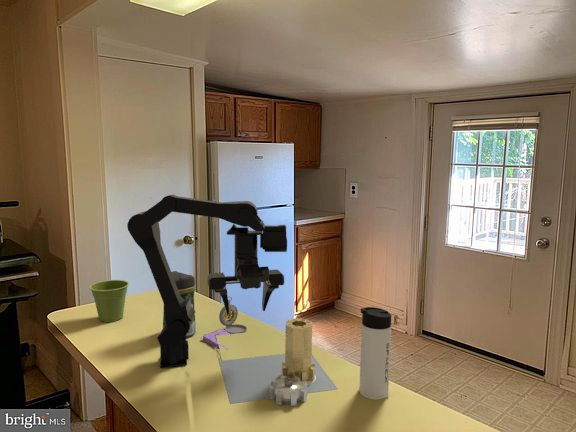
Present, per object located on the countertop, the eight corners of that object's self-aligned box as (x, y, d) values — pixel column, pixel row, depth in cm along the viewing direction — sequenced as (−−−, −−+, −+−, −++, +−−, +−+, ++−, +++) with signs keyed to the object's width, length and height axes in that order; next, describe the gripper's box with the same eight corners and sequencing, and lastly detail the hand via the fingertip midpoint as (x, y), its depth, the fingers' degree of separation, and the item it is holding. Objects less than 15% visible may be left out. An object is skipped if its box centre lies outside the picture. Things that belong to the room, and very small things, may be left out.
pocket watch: (243, 336, 127) (243, 303, 126) (215, 334, 129) (215, 301, 127) (250, 326, 135) (250, 295, 134) (225, 324, 137) (225, 293, 135)
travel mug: (354, 389, 98) (357, 304, 96) (383, 389, 99) (386, 304, 96) (361, 405, 92) (364, 314, 89) (391, 404, 93) (396, 314, 90)
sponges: (222, 335, 129) (222, 329, 129) (248, 348, 120) (248, 342, 120) (202, 341, 125) (202, 335, 125) (227, 356, 116) (227, 349, 115)
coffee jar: (158, 333, 128) (156, 272, 126) (180, 326, 135) (179, 267, 132) (178, 342, 122) (177, 278, 120) (200, 334, 129) (199, 273, 126)
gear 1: (280, 384, 97) (281, 329, 96) (282, 368, 105) (283, 317, 103) (314, 386, 97) (315, 330, 95) (314, 369, 105) (315, 318, 103)
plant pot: (85, 317, 140) (84, 284, 139) (121, 309, 148) (120, 277, 147) (98, 328, 132) (97, 292, 130) (136, 319, 140) (135, 285, 138)
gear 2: (274, 408, 88) (274, 393, 88) (265, 388, 96) (265, 374, 95) (312, 403, 90) (312, 387, 90) (300, 383, 98) (301, 369, 98)
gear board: (230, 409, 90) (230, 390, 89) (218, 365, 109) (218, 349, 108) (337, 393, 96) (338, 376, 96) (309, 355, 115) (309, 340, 115)
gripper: (211, 261, 98) (212, 327, 100) (290, 257, 103) (289, 320, 105) (207, 251, 109) (207, 311, 111) (279, 248, 114) (278, 305, 116)
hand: (245, 312), depth 110 cm, fingers open, 9 cm apart
